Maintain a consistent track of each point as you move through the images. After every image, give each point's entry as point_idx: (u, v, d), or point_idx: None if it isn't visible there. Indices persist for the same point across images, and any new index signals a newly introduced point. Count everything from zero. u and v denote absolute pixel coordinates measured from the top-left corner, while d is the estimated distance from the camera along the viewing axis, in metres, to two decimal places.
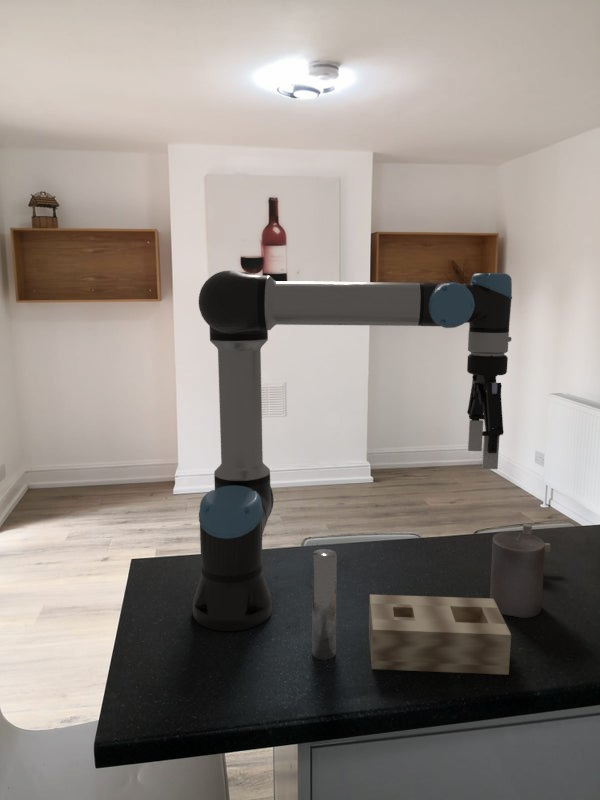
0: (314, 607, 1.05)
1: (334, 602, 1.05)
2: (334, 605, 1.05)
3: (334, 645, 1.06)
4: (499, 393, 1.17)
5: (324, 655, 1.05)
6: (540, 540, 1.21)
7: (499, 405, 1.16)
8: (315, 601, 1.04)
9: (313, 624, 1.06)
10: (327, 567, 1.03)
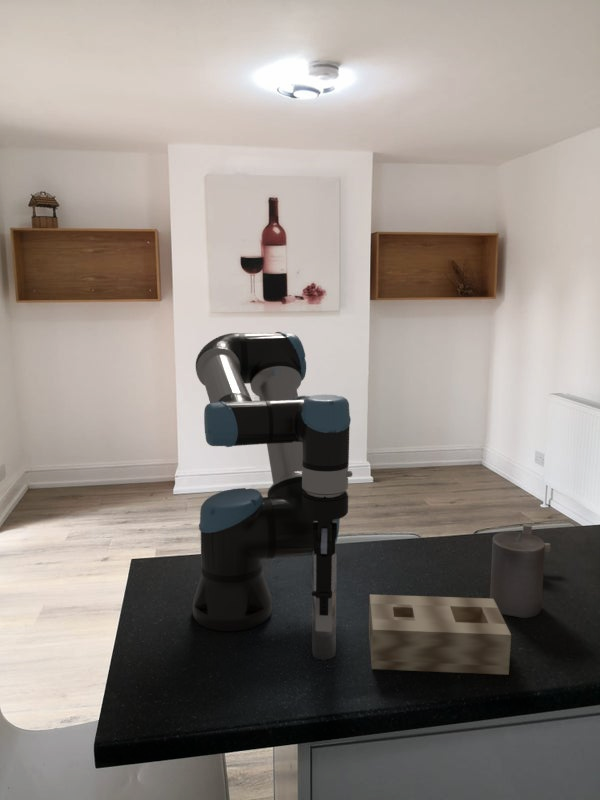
0: (314, 607, 1.05)
1: (334, 602, 1.05)
2: (334, 605, 1.05)
3: (334, 645, 1.06)
4: (329, 554, 0.98)
5: (324, 655, 1.05)
6: (540, 540, 1.21)
7: (328, 568, 0.99)
8: (315, 601, 1.04)
9: (313, 624, 1.06)
10: None
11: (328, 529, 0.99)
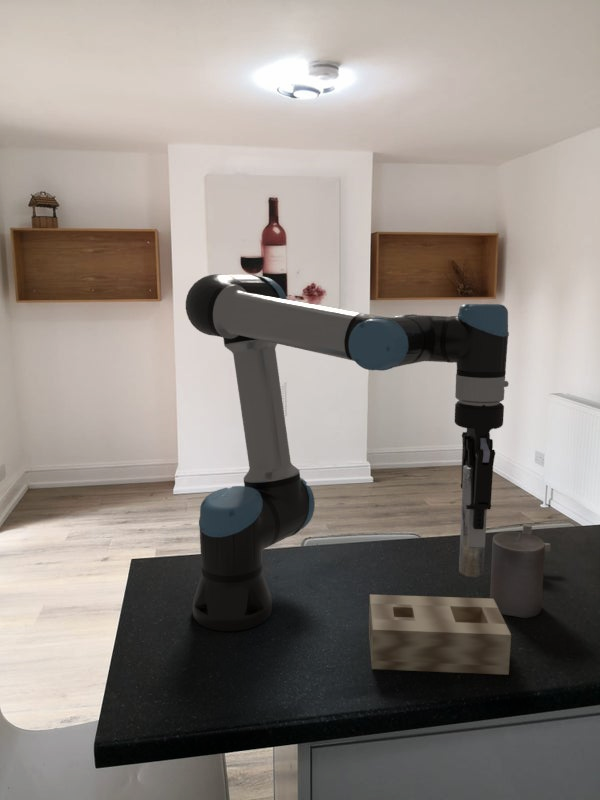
0: (465, 522, 1.03)
1: None
2: None
3: (483, 562, 1.04)
4: (491, 463, 0.96)
5: (474, 572, 1.03)
6: (540, 540, 1.21)
7: (489, 477, 0.96)
8: (466, 515, 1.02)
9: (462, 540, 1.03)
10: None
11: (487, 438, 0.97)
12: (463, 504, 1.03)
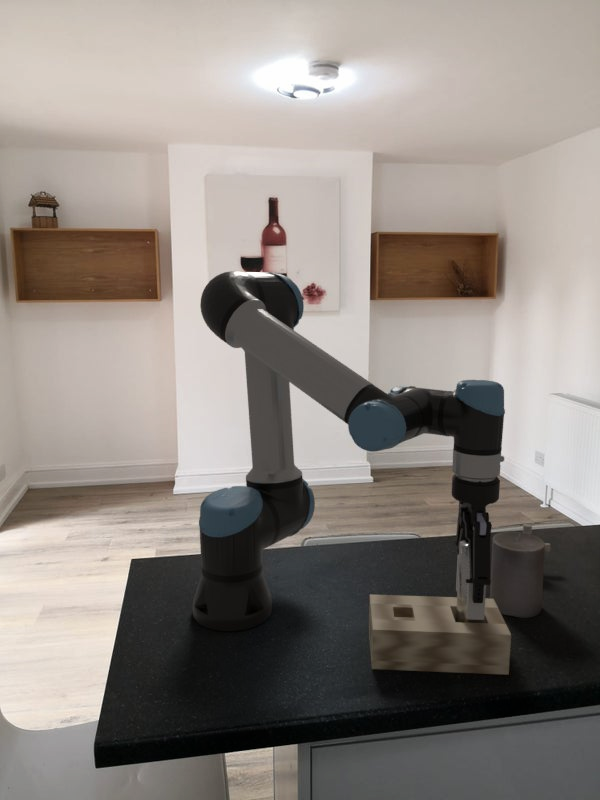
0: (461, 598, 1.05)
1: None
2: None
3: None
4: (488, 535, 0.97)
5: None
6: (540, 540, 1.21)
7: (487, 550, 0.97)
8: (462, 591, 1.05)
9: (458, 615, 1.06)
10: None
11: (483, 512, 1.00)
12: (459, 580, 1.05)
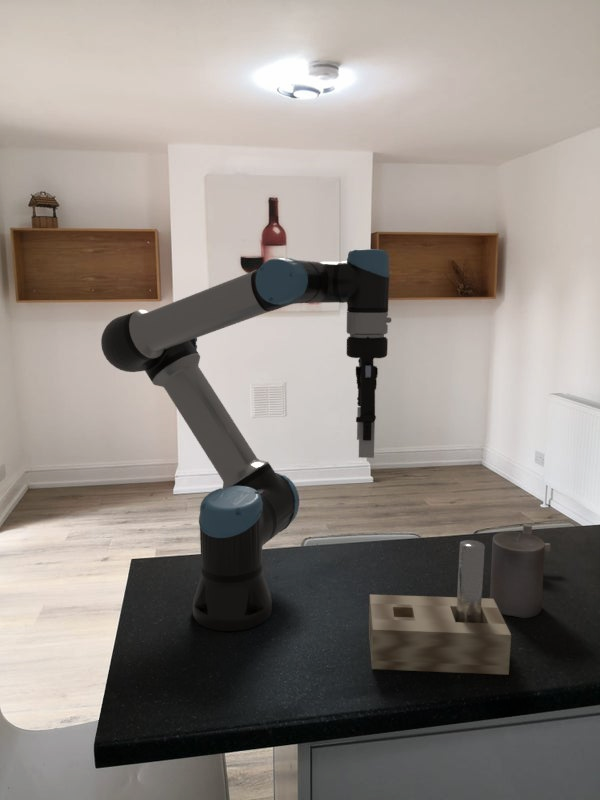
0: (461, 598, 1.05)
1: (481, 593, 1.05)
2: (481, 596, 1.05)
3: None
4: (373, 376, 1.10)
5: None
6: (540, 540, 1.21)
7: (372, 389, 1.09)
8: (462, 591, 1.05)
9: (458, 615, 1.06)
10: (477, 557, 1.03)
11: None
12: (459, 580, 1.05)
